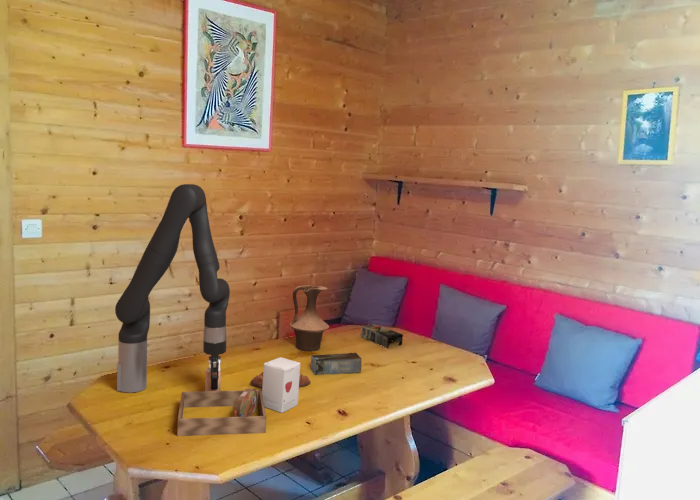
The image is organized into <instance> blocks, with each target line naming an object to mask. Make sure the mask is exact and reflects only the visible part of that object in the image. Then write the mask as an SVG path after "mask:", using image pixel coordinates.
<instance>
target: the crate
mask: <svg viewBox="0 0 700 500" xmlns="http://www.w3.org/2000/svg"><path fill="white" fill-rule="evenodd" d="M245 390H246V389H245ZM245 390H220V391H205V390H204V391H203V390H202V391H201V390H200V391H181V395H180V401H179V408H178V409H179V410H178V416H177V434H176V435H177V436H176V437H186V436H216V435H219V436H220V435H240V434H241V435H242V434H245V435H246V434H266V433H267V413H266V407H265V406H264V401H263V395H262V389H255V390H256V392H257V406H258V409H259V416H258V415H256V416H255V415H252V416H250V417H233V416H223V417H189V418H188V417H187V418H185V417H184V411H185V409H184V408H209V407H210V408H213V407H214V408H215V407H233V406H234V403H235V401H236V399H237V398H238V397H239V396H240V395H241V394H242V393H243V392H244V391H245ZM183 417H184V418H183Z"/></svg>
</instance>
